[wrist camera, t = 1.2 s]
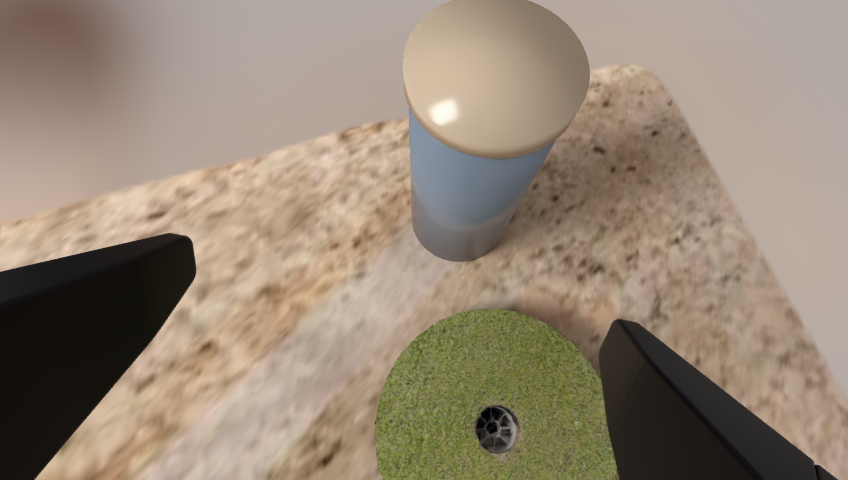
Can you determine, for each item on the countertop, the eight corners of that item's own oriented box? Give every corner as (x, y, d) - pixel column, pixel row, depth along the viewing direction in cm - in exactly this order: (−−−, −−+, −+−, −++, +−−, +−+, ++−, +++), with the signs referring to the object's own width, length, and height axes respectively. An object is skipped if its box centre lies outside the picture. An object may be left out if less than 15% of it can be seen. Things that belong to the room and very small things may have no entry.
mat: (461, 618, 18) (466, 644, 16) (337, 390, 21) (330, 391, 19) (648, 462, 20) (671, 470, 19) (512, 276, 23) (520, 267, 22)
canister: (526, 230, 24) (628, 86, 13) (445, 283, 23) (475, 179, 11) (469, 158, 26) (512, -30, 14) (390, 204, 25) (367, 41, 13)
